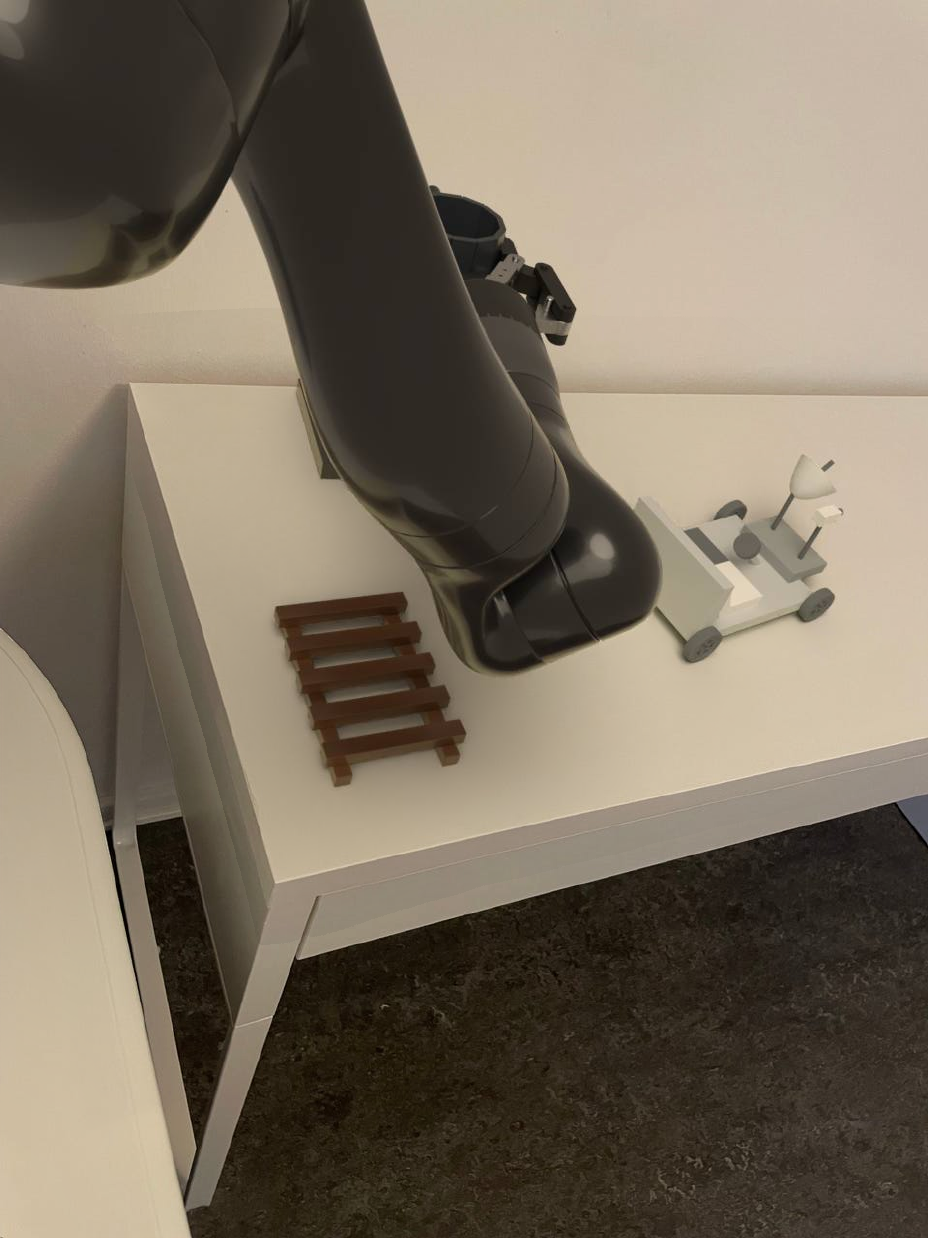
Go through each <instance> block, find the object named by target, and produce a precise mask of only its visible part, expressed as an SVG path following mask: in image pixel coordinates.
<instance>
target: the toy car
mask: <svg viewBox="0 0 928 1238" xmlns="http://www.w3.org/2000/svg"><path fill="white" fill-rule="evenodd" d="M833 465H835V461H834V460H833V459H830V460H829V461H828V462H827V463H825V464H824V465H823V466H822V467H820V466H819V465H818V464H817V463H816V462H815V460H813V459H812V458H811V457H809V456H808V455H806V454H803V453H801V455H800V457H799V459H798V461H797V462H796V465H795V466H794V469H793V471H792V473H791V477H790V481H789V492H790V494H789V495H788V497H787V499H786V501H785V502H784V504H783V506H782V508H781V509H780V511H779V512H778V514H777V515H774V516H770V517H767V518H762V519H759V520H756V521H752V522H749V523H745V522H744V519H745V518H746V516H747V513H748V507H747V506H746V504H745V503H744V502H743V501H741V500H740V499H733V500H731V501H728V502H727V503H726V504H724V505H722V507H721V508H719V509H718V511H717V512H716V514H715V515H714V517H713V520H711V521H707V522H703V523H700V524H696V525H692V526H691V525H690V526H687V527H684V528H681V527H680V526H679V525H678V524H677V523H676V521H674V519H673V518H672V517H671V516H670V515H669V514H668V513H667V512H666V511H665V510H664V509H663V508H662V507H661V506H660V504H658V502H657V501H656V500H655V499H654V497H652V496H651V495H650V494H647V495H642V496H639V497H638V498H637V500H636V503H635V505H634V508H633V510H634V511H635V512H636V513H637V515H638V516H639V517H640V518H641V520H642V521H643V522H644V524H645V525H646V527H647V528H648V530H649V532H650V533H651V535H652V537H653V539H654V541H655V543H656V546H657V548H658V550H659V554H660V557H661V561H662V567H663V585H662V589H661V593H660V597H659V600H658V602H657V604H656V607H657V608H658V610H659V611H660V612H661V613H662V614H663V616H664V617H665V618H666V619H667V620H668V621H669V622H670V624H671V625H672V626H673V627H674V628H675V629H676V631H677V632H678V633H679V634H680V635H681V636H682V638H684V640H685V641H686V643H685V644H684V646H683V648H682V654H683V655H684V657H685V658H686V659H687V660H688V661H689V662H691V663H696V662H700V661H702V660H704V659H706V658H707V657H709V656H710V655H711V654H713V653H714V652H715V651H716V650H717V648H718V647H719V646H720V644H721V643H722V640H723V637H724V636H728V635H730V634H733V633H737V632H739V631H742V630H745V629H748V628H751V627H755V626H757V625H759V624H762V623H765V622H768V621H770V620H774V619H776V618H779V617H782V616H785V615H788V614H791V613H794V612H797V614H798V615H799V616H800V617H801V619H802V620H803V621H805V622H812V621H814V620H816V619H818V618H819V617H821V616H822V615H824V614H825V613H827V611H828V610H829V609H830V607H832V605H833V604H834V602H835V599H836V595H835V594H834V592H833V591H831V589H830V588H828V587H821V588H819V589H816V590H815V591H814V592H813V590H811V589H810V587H808V585H807V584H805V583H804V582H803V581H802V580H803V579H807V578H809V577H812V576H815V575H818V574H821V573H823V572H824V570H825V569H826V567H827V565H828V562H827V561H826V560H825V559H824V558H823V557H822V556H821V555H820V554H819V553H817V551H816V550H815V549H813V547H812V545H813V544H814V541H815V540H816V539H817V537H818V535H819V534H820V532H821V530H822V529H823V527H826V526H829V525H832V524H836V523H837V522H838V521H839V519H840V518H841V517H842V516H843V515H844V509H843V508H841V507H837V506H836V505H835V504H834V503H833V504H830V505H827V506H823V507H819V508H816V509H815V510H814V512H813V514H812V515H811V517H810V521H811V522H812V523H814V524H815V525H816V527H815V528H814V530H813V532H812V533H811V535H810V537H809V538H808V539H807V541H805V540H804V539H803V537H802V536H800V535H799V534H798V533H797V532H796V531H795V530H794V528H792V527H791V526H790V525H789V524H788V523H787V522H786V521H785V520H784V519H783V518H784V516H785V514H786V513H787V511H788V509H789V507H790V506H791V504H792V503H793V500H794V499H797V500H805V501H806V500H807V501H808V500H815V499H820V498H823V497H827V496H830V495H833V494H836V493H837V489H836V486H835V484H834V483H833V481H832V480H831V478H830V477H829V476H828V475H827V473H826V472H827V471H828V470H829V469H830V468H831V467H832V466H833Z"/></svg>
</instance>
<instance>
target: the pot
mask: <svg viewBox="0 0 928 1238" xmlns="http://www.w3.org/2000/svg"><path fill="white" fill-rule="evenodd" d="M429 188H430V190H431V193H432V196H433V199H434V202H435V205H436V208H437V211H438V213H439V216H440V219H441V221H442V224H443V227H444V230H445V232H446V235H447V238H448V240H449V243H450V246H451V249H452V251H453V254H454V257H455V259H456V262H457V265H458V267H459V270H460V272H462V273H481V274H486V276H487V275H490V274H491V272H492V271H493V270H494V268H495V267H496V266H497V264H498V260H499V256H500V252H501V248H502V245H503V241H504V237H505V236H506V233H507V227H506V224H505V222H504V219H503V217H502V216H501V215H500V214H498V212H496V211H495V210H493V209H492V208H491V207H489V206H488V205H486V204H485V203H482V202H479V201H477V200H474V199H472V198H470V197H467V196H465V195H464V196H463V195H460V194H453V193H446V192H441V189H440V188H439V187H438V186H437V185H434V184H431V185H429Z"/></svg>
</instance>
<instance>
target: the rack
mask: <svg viewBox="0 0 928 1238" xmlns="http://www.w3.org/2000/svg"><path fill="white" fill-rule="evenodd" d="M408 607H409V602H408V599H407V597H406V595H405V593H404V591H396V592H395V591H394V592H387V593H378V594H368V595H360V596H353V597H343V598H334V599H326V600H317V601H309V602H300V603H291V604H282V605H275V606H274V614H273V617H274V620H275V623H276V626H277V628H278V629H279V630H281V632H282V636H283V639H284V647H283V648H284V651H285V654H286V656H287V659H288V662H292V666H293V668H294V672H295V674H296V677H295V683H296V686H297V690H298V692H299V695H300V696H302V695H303V697H304V701H305V704H306V706H307V710H308V711H307V719H308V722H309V724H310V727H311V730H312V731H315V733H316V736H317V739H318V742H319V745H320V748H319V754H320V758H321V761H322V764H323V767H324V768H325V769H328V771H329V774H330V775H329V776H330V778H331V781H332V783H333V787H335V788H337V787H342V786H348V785H351V783H352V779H353V773H352V770H351V768H350V767H351V766H350V764H355V763H360V762H367V761H372V760H377V759H384V758H388V757H394V756H399V755H405V754H410V753H415V752H421V751H426V750H431V749H435V752H436V755H437V757H438V759H439V761H440V763H441V766H442V767H448V766H453V765H457V764H458V762H459V760H460V757H461V752H460V751H459V749H458V746H457V745H459V744H464V742H465V740H466V736H467V732H466V729H465V727H464V725H463V722H462V720H461V719H460V718H457V719H451V720H446V718H445V716H444V714H443V711H442V709H443V710H444V709H448V708H449V706H450V703H451V700H452V698H451V696H450V694H449V691H448V689H447V686H446V685H445V684H440V685H434V686H431V684H430V681H429V680H428V676H433V675H434V673H435V670H436V667H437V664H436V662H435V660H434V656H433V655H432V653H431V651H427V652H421V653H417V652H416V649H415V647H414V645H416V644H420V642H421V639H422V635H423V633H422V630H421V628H420V625H419V624H418V621H417V620H412V621H404V622H403V619H402V617H401V614H406V612H407V609H408ZM375 617H379V618H380V620H381V623H382V625H381V624H379V625H373V626H366V627H365V626H363V627H357V628H349V629H342V630H333V631H326V632H318V633H309V634H303V631H302V628H301V627H303V626H311V625H319V624H327V623H328V624H329V623H334V622H335V623H336V622H343V621H350V620H351V621H352V620H359V619H360V620H361V619H367V618H375ZM386 648H387V649H388V648H392V649H393V652H394V654H395V656H393V657H385V658H379V659H378V658H377V659H371V660H364V661H357V662H351V663H343V664H336V665H329V666H323V667H315V665H314V662H313V660H312V659H315V658H323V657H329V656H337V655H343V654H344V655H345V654H350V653H351V654H352V653H359V652H365V651H373V650H379V649H380V650H381V649H386ZM402 680H406V682H407V685H408V687H409V690H403V691H395V692H388V693H383V694H377V695H371V696H364V697H357V698H352V699H345V700H339V701H333V702H327V700H326V695H325V693H324V692H328V691H336V690H341V689H349V688H355V687H362V686H368V685H375V684H380V683H388V682H394V681H402ZM419 713H420V716H421V718H422V720H423V723H424V724H423V725H416V726H411V727H405V728H399V729H393V730H387V731H382V732H376V733H375V732H374V733H370V734H365V735H364V734H363V735H359V736H358V735H357V736H351V737H346V738H342V739H341V738H340V736H339V732H338V730H337V728H336V727H341V726H342V727H343V726H347V725H353V724H360V723H366V722H371V721H377V720H383V719H389V718H395V717H401V716H402V717H403V716H408V715H413V714H419Z"/></svg>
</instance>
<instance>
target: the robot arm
mask: <svg viewBox="0 0 928 1238" xmlns="http://www.w3.org/2000/svg"><path fill="white" fill-rule="evenodd" d="M373 24H374V23H373V22H372V19H371V15H370V12H369V10H368V7H367V4H366V0H0V285H4V286H5V285H6V286H13V287H20V288H31V289H32V288H33V289H43V290H44V289H45V290H74V291H75V290H93V289H104V288H111V287H117V286H121V285H126V284H129V283H133V282H136V281H138V280H142V279H145V278H148V277H151V276H153V275H155V274H157V273H159V272H160V271H162V270H164V269H166V268H167V267H168V266H170V265H171V264H172V263H173V262H175V261H176V260H178V258H179V257H180V256H181V255H182V253H183V252H184V251H185V250H186V249H187V248H188V247H189V246H190V245H191V244H192V242H193V241H194V239H195V238H196V237H197V236H198V234H199V233H200V232H201V230H202V229H203V228H204V226H205V224H206V223H207V221H208V220H209V218H210V217H211V215H212V213H213V211H214V209H215V208H216V205H217V204H218V202H219V200H220V199H221V196H222V195H223V192H224V190H225V188H226V186H227V184H228V182H229V181H231V183H232V184H233V186H234V188H235V190H236V192H237V194H238V196H239V198H240V201H241V203H242V205H243V206H244V208H245V211H246V213H247V215H248V218H249V220H250V221H249V222H250V223H251V226H252V228H253V231H254V233H255V236H256V238H257V240H258V244H259V246H260V248H261V250H262V253H263V256H264V258H265V260H266V264H267V268H268V270H269V273H270V277H271V280H272V284H273V286H274V290H275V293H276V296H277V299H278V302H279V306H280V310H281V313H282V317H283V320H284V324H285V327H286V330H287V334H288V339H289V342H290V348H291V350H292V355H293V360H294V363H295V367H296V369H297V373H298V376H299V379H300V381H301V385H302V388H303V392H304V396H305V399H306V402H307V405H308V408H309V411H310V414H311V416H312V419H313V422H314V424H315V427H316V430H317V432H318V435H319V437H320V440H321V442H322V445H323V447H324V449H325V451H326V453H327V455H328V457H329V459H330V461H331V463H332V465H333V466H334V468H335V469H336V471H337V473H338V474H339V476H340V477H341V479H340V480H342V482H343V484H344V485H345V487H346V488H347V490H348V491H349V492H350V494H352V496H353V497H354V498H355V500H356V501H357V502H358V503H359V504H360V506H362V507H363V508H364V510H365V511H367V513H368V514H370V516H371V517H373V519H374V520H375V521H376V522H378V524H379V525H380V526H381V527H382V528H383V529H384V530H385V531H386V532H387V533H388V534H389V535H390V536H391V537H392V538H393V539H394V540H395V541H396V542H397V543H398V544H399V545H400V546H401V547H402V548H403V549H404V550H405V551H406V552H407V553H408V554H409V555H410V556H411V558H412V559H414V561H415V563H416V564H417V566H418V567H419V569H420V570H421V572H422V574H423V576H424V578H425V580H426V582H427V584H428V586H429V589H430V592H431V596H432V600H433V604H434V607H435V611H436V615H437V618H438V621H439V624H440V626H441V629H442V632H443V634H444V636H445V638H446V640H447V642H448V644H449V647H450V648H451V650H452V651H453V653H454V655H455V656H456V657H457V659H459V661H461V662H462V664H463V665H464V666H465V667H467V668H468V669H469V670H471V671H473V672H475V673H477V674H479V675H482V676H484V677H490V678H496V679H511V678H515V677H521V676H522V675H526V674H528V673H531V672H533V671H536V670H538V669H541V668H543V667H545V666H547V665H549V664H552V663H555V662H557V661H559V660H562V659H564V658H567V657H569V656H572V655H574V654H576V653H579V652H581V651H583V650H585V649H587V648H591V647H593V646H595V645H597V644H599V643H600V642H601V641H602V642H604V641H608V640H609V639H612V638H614V637H617V636H620V635H622V634H625V633H626V632H628V631H631V630H632V629H635V628H636V627H637V626H640V625H641V624H642V623H643V622H645V621H646V620H647V619H648V618H649V617H650V616H651V614H652V613H653V612H654V610H655V609H656V607H657V606H656V604H657V602H658V600H659V597H660V593H661V589H662V585H663V567H662V561H661V557H660V554H659V550H658V548H657V546H656V543H655V541H654V539H653V537H652V535H651V533H650V532H649V530H648V528H647V527H646V525H645V524H644V522H643V521H642V520H641V518H640V517H639V516H638V515H637V513H636V512H635V511H634V508H633V507H632V506H631V505H630V504H629V502H628V501H627V500H626V499H625V498H624V497H623V496H622V495H621V494H620V493H619V492H618V491H617V490H616V488H614V487H613V486H612V485H611V484H610V483H609V482H608V481H607V480H606V479H605V478H604V477H603V476H601V475H600V474H599V473H598V472H597V470H595V468H594V467H593V466H592V465H591V464H590V463H589V462H588V461H587V459H586V458H585V456H584V454H583V453H582V451H581V449H580V448H579V446H578V444H577V441H576V439H575V437H574V434H573V432H572V430H571V427H570V424H569V421H568V418H567V416H566V413H565V410H564V407H563V404H562V401H561V400H562V399H561V394H560V393H561V392H560V387H559V382H558V379H557V375H556V372H555V369H554V365H553V364H552V363H553V362H552V360H551V358H550V355H549V353H548V350H547V347H546V344H545V342H544V339H543V337H542V336H543V335H542V334H544V336H545V338H546V339H547V341H548V342H549V343H550V344H552V345H553V346H557V347H562V346H565V345H566V343H567V340H568V337H569V334H570V331H571V327H572V325H573V321H574V319H575V316H576V313H577V307H576V305H575V303H574V302H573V299H572V298H571V296H570V294H569V293H568V292H567V290H566V288H565V286H564V285H563V283H562V281H561V280H560V277H559V276H558V275H557V273H556V271H555V270H554V268H553V266H552V265H550V264H548V263H546V262H536V263H535V265H534V266H531V265H528V264H526V259H525V258H524V257H523V256H522V255H519V253H518V250H517V248H516V245H515V242H514V241H513V240H512V239H511V238H510V237H507V236H506V235H505V237H504V241H503V245H502V248H501V252H500V256H499V260H498V264H497V266H496V267H495V268H494V270H493V271H492V272H491V274H490V275H487V276H486V274H481V273H462V272H460V270H459V267H458V265H457V262H456V259H455V257H454V254H453V251H452V249H451V246H450V243H449V240H448V238H447V235H446V232H445V230H444V227H443V224H442V221H441V219H440V216H439V213H438V211H437V208H436V205H435V202H434V199H433V196H432V193H431V190H430V188H429V186H430V185H429V182H428V178H427V176H426V173H425V171H424V167H423V164H422V162H421V160H420V156H419V154H418V151H417V148H416V145H415V143H414V140H413V137H412V133H411V131H410V129H409V126H408V123H407V120H406V117H405V113H404V110H403V108H402V105H401V102H400V100H399V97H398V94H397V92H396V89H395V87H394V84H393V80H392V78H391V75H390V73H389V70H388V67H387V64H386V61H385V59H384V58H385V57H384V55H383V51H382V49H381V46H380V43H379V39H378V37H377V34H376V31H375V28H374V25H373ZM523 295H524V296H525V297H524V296H523Z"/></svg>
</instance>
